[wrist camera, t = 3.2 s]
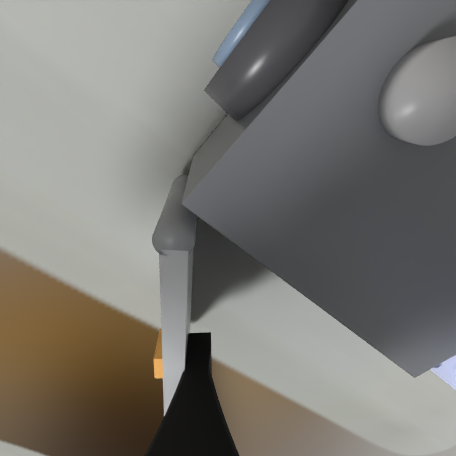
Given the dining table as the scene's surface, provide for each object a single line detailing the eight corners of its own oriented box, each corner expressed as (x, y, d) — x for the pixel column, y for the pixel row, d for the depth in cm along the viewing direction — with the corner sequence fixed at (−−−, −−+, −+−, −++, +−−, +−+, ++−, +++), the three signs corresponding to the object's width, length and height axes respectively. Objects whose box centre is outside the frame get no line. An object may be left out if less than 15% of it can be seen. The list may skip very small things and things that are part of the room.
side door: (192, 334, 13) (187, 418, 10) (164, 334, 13) (149, 419, 10) (200, 176, 9) (195, 223, 6) (161, 172, 9) (133, 220, 6)
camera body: (465, 205, 11) (637, 280, 7) (351, 289, 13) (425, 392, 8) (294, -44, 7) (440, -272, 3) (164, 131, 9) (120, 171, 4)
